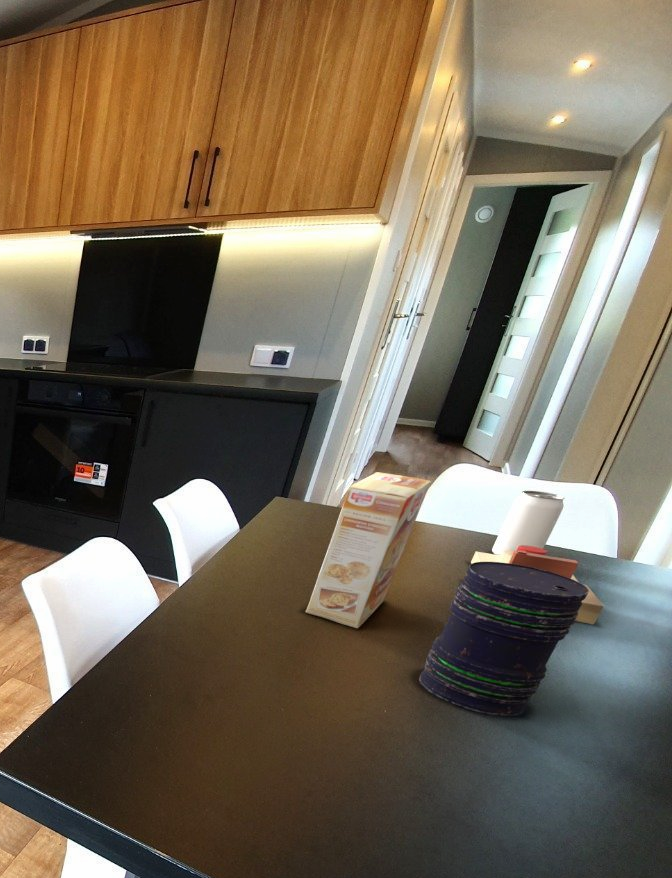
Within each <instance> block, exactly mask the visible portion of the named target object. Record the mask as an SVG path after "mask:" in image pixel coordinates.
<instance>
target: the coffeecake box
mask: <svg viewBox="0 0 672 878" xmlns="http://www.w3.org/2000/svg"><path fill="white" fill-rule="evenodd" d="M431 484H432V480H429V479H424V478H420V477H419V478H418V477H412V476H406V475H401V474H400V475H399V474H394V473H393V474H391V473H385V472H380V471H376V472H374V473H372V474H371V475H369V476H367V477H365V478H363V479H361V480H360V481H358V482H355V483H354V484H352V485H350V486H348V487H347V488H348V489H347V493H346V495H345V499H344V501H343V505H342V507H341V510H340V513H339V515H338V519H337V521H336V524H335V527H334V530H333V533H332V536H331V539H330V542H329V545H328V547H327V551H326V554H325V556H324V559H323V561H322V565H321V568H320V570H319V572H318V575H317V579H316V582H315V585H314V588H313V590H312V593H311V596H310V599H309V603H308V605H307V607H306V610H305V613H306V614H309V615H313V616H317V617H319V618H322V619H326V620H329V621H333V622H336V623H339V624H341V625H345V626H347V627H351V628H355V629H359V628H360V627H361V626H362V625H363V624H364V623H365V622H366V621H367V620H368V619H369V617H371V615H372V614H373V613H374V612H375V611H376V610H377V609H378V608H379V607H380V605H382V603H383V602H384V601H385V598H386V595H387V593H388V590H389V589H390V588H389V587H390V585H391V583H392V580H393V578H394V575H395V572H396V570H397V568H398V565H399V563H400V560H401V557H402V556H403V555H402V554H403V553H404V550H405V548H406V545H407V542H408V540H409V537H410V535H411V533H412V529H413V527H414V525H415V522H416V520H417V518H418V515H419V513H420V510H421V508H422V505H423V503H424V501H425V498H426V495H427V493H428V490H429V488H430V486H431Z"/></svg>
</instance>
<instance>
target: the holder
mask: <svg viewBox="0 0 672 878" xmlns="http://www.w3.org/2000/svg"><path fill="white" fill-rule="evenodd" d="M509 563H510V564H516V565H522V566H527V567H532V568H537V569H541V570H545V571H549V572H552V573H556V574H559V575H562V576H565V577H568V578H570V579H571V577H572V575H574V573H575V571H576V569H577V568H578V566H579V562H578V561H577V560H575V559H569V558H563V557H556V556H549V555H546V556H545V555H539V554H533V553H527V552H526V551H523V550H517V551H514V553H513V555H512V557H511V559H510V561H509Z"/></svg>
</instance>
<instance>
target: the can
mask: <svg viewBox="0 0 672 878" xmlns="http://www.w3.org/2000/svg"><path fill="white" fill-rule="evenodd" d="M564 500H565V496H563V495H559V494H556V493H553V492H552V493H551V492H546V491H540V490H539V491H538V490H522V491H521V494H519V496H517V497H516V498H515V499H514V501H513V503H512V505H511V507H510V509H509V512H508V513H507V515H506V518H505V520H504V522H503V525H502V527H501V529H500V531H499V533H498V535H497V537H496V540H495V542H494V544H493V546H492V549H491V551H492V554H494V555H500V556H501V554H502V552H503V551H505V550H517V548H518V546H521V545H525V546H533V547H538V548H541V549H545V546H546V545H547V542H548V540H549V538H550V536H551V534H552V532H553V530H554V529H555V526H556V524H557V522H558V520H559V518H560V517H561V514H562V511H563V509H564V508H565V507H564Z"/></svg>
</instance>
